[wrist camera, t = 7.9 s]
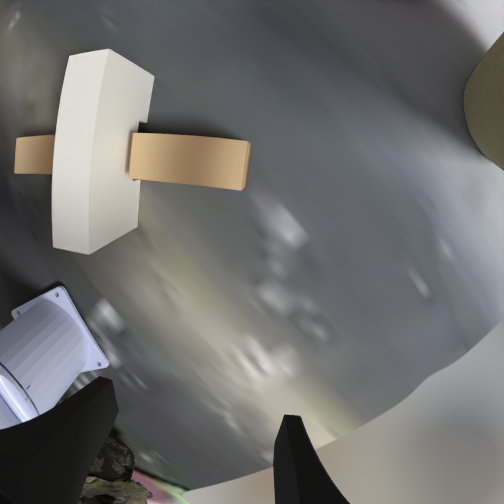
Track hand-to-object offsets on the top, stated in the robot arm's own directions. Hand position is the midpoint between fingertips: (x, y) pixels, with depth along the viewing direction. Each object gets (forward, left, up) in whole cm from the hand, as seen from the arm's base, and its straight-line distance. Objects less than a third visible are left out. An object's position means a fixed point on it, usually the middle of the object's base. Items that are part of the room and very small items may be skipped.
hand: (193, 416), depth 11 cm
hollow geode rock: (-26, -17, -10) cm, 33 cm away
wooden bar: (-2, +12, -10) cm, 16 cm away
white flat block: (-2, +12, -10) cm, 16 cm away
